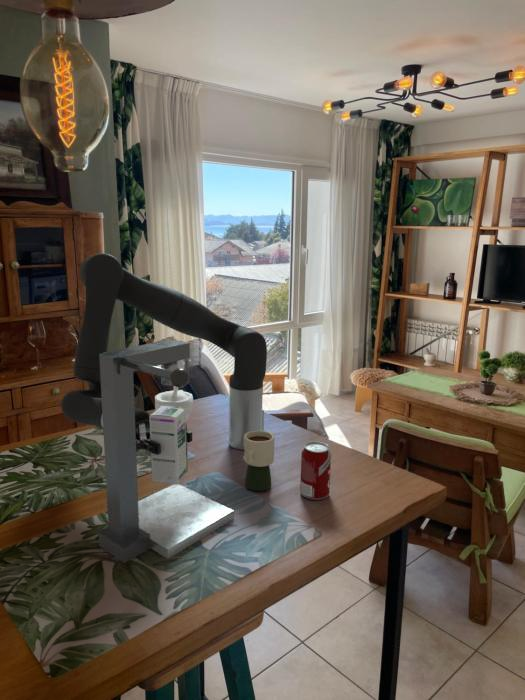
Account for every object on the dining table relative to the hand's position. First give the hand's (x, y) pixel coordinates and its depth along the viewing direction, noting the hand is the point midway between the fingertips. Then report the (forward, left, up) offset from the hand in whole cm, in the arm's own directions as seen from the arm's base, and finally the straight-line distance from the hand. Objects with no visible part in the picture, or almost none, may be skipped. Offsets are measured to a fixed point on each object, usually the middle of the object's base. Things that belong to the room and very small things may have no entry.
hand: (175, 443), depth 103 cm
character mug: (-23, +3, -18) cm, 29 cm away
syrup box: (0, -2, -8) cm, 8 cm away
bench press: (+3, +3, -18) cm, 18 cm away
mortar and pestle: (-35, -41, -18) cm, 57 cm away
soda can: (-29, +15, -18) cm, 37 cm away
